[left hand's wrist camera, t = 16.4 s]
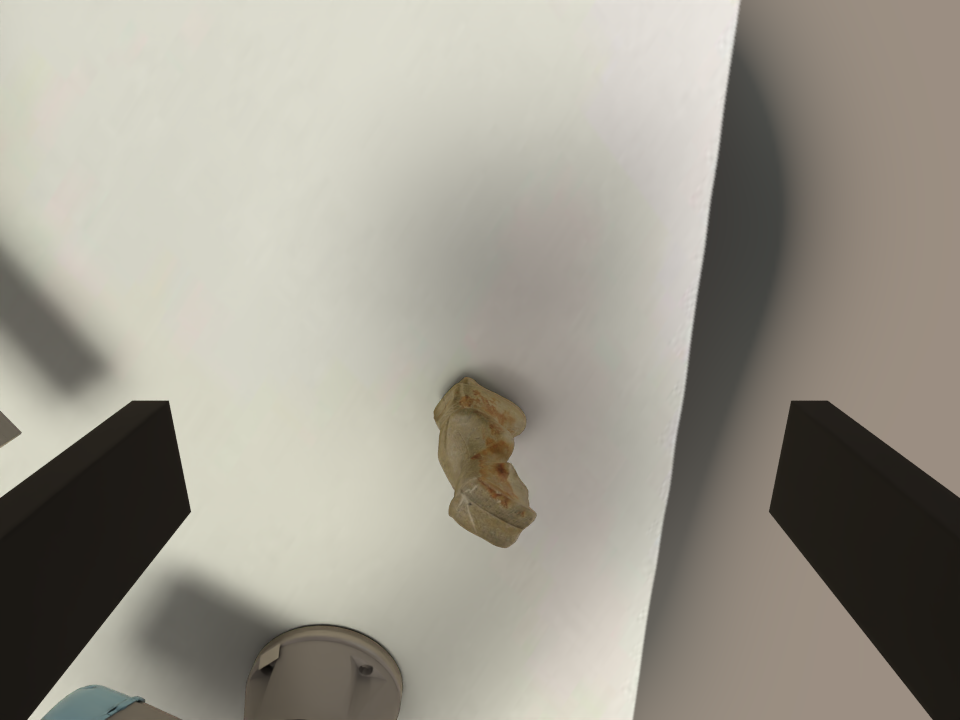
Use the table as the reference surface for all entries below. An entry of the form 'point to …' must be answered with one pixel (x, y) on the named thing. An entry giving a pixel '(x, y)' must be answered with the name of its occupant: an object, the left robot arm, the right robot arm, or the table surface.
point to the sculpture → (483, 462)
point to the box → (7, 430)
